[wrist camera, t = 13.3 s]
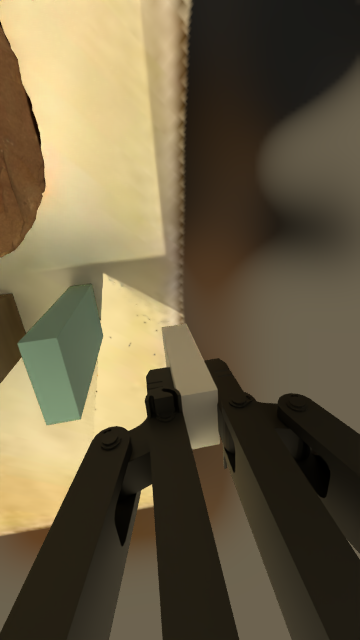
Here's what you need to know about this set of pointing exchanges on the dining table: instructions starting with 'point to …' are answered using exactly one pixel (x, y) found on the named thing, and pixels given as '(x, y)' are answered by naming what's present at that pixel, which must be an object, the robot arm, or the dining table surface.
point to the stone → (17, 154)
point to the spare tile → (64, 354)
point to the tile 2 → (9, 334)
